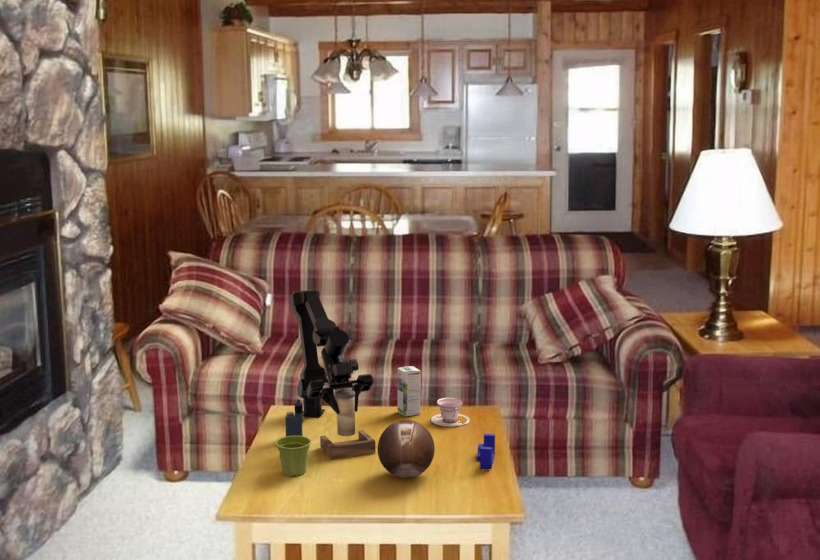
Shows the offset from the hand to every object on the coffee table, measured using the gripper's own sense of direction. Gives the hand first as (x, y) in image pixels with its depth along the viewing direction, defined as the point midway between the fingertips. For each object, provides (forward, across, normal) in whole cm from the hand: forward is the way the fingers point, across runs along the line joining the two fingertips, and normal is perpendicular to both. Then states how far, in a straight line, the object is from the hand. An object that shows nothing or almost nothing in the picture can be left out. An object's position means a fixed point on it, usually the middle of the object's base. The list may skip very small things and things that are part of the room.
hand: (347, 412), depth 282 cm
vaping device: (-2, -11, +19) cm, 22 cm away
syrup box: (-8, +28, +25) cm, 38 cm away
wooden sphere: (+25, +8, -9) cm, 27 cm away
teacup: (0, +37, +17) cm, 41 cm away
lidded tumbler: (+4, 0, +6) cm, 7 cm away
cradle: (+8, 0, +8) cm, 11 cm away
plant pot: (+15, -18, +1) cm, 24 cm away
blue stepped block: (+24, +32, -8) cm, 41 cm away
